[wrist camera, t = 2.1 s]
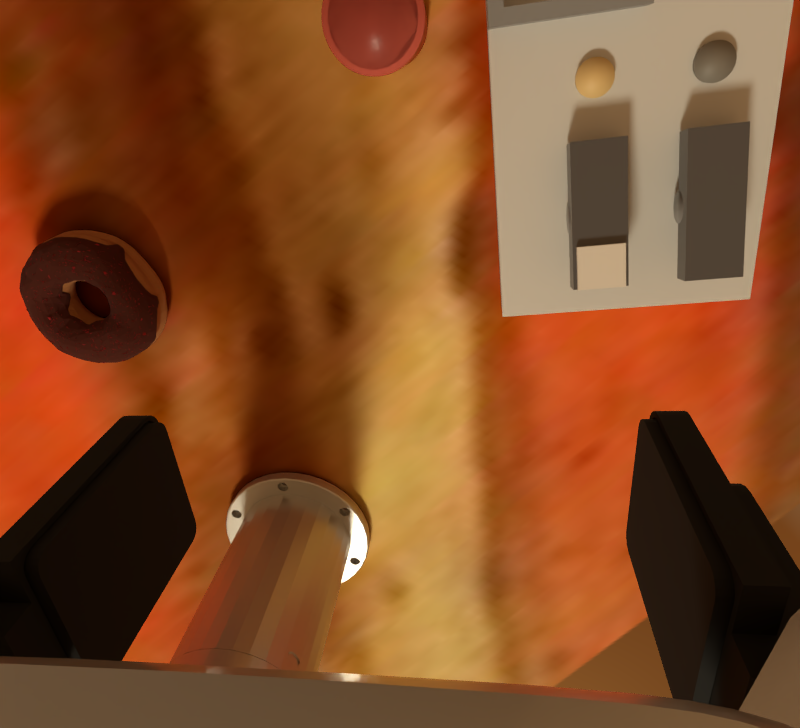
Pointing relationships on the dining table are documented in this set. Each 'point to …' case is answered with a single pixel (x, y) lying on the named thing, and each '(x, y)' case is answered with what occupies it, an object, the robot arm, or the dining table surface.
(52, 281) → the donut
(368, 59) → the cap
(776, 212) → the dining table surface
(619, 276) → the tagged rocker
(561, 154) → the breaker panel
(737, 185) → the plain rocker
